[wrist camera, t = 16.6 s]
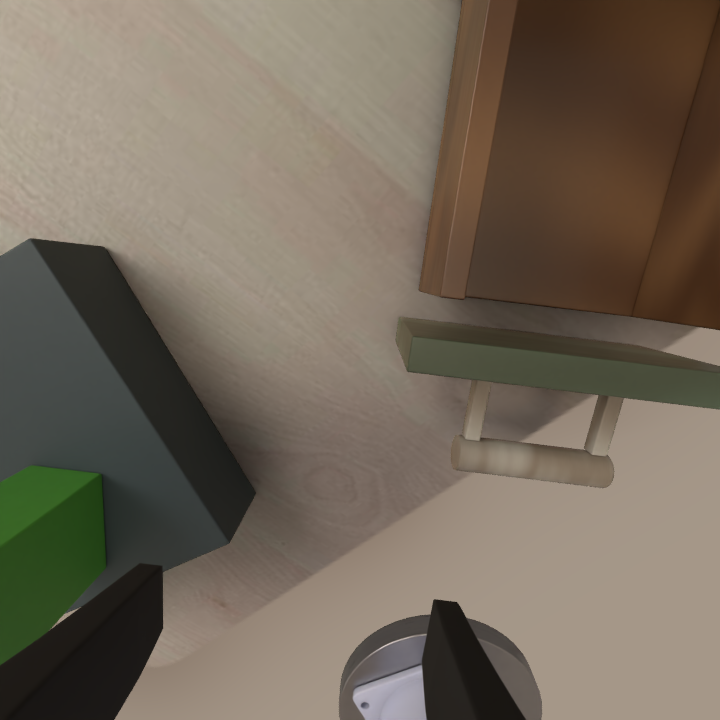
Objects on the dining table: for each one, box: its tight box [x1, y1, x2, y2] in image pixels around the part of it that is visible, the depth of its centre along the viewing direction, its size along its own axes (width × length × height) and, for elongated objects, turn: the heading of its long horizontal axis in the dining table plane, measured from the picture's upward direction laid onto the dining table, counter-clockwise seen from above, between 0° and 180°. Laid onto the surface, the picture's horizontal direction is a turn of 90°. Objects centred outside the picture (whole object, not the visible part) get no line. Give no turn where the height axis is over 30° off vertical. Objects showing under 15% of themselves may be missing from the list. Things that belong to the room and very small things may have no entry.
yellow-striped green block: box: [0, 465, 106, 665], centre depth 14 cm, size 5×3×6 cm, turn 173°
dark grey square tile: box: [0, 238, 256, 613], centre depth 18 cm, size 15×13×4 cm
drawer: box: [396, 0, 720, 488], centre depth 13 cm, size 23×11×6 cm, turn 173°
